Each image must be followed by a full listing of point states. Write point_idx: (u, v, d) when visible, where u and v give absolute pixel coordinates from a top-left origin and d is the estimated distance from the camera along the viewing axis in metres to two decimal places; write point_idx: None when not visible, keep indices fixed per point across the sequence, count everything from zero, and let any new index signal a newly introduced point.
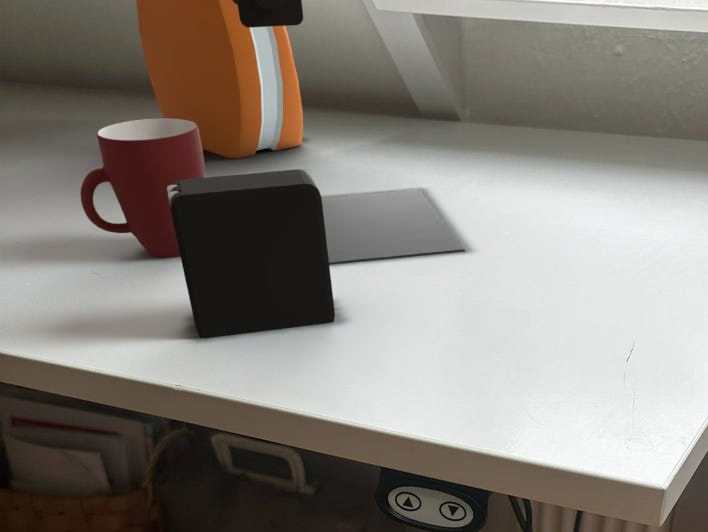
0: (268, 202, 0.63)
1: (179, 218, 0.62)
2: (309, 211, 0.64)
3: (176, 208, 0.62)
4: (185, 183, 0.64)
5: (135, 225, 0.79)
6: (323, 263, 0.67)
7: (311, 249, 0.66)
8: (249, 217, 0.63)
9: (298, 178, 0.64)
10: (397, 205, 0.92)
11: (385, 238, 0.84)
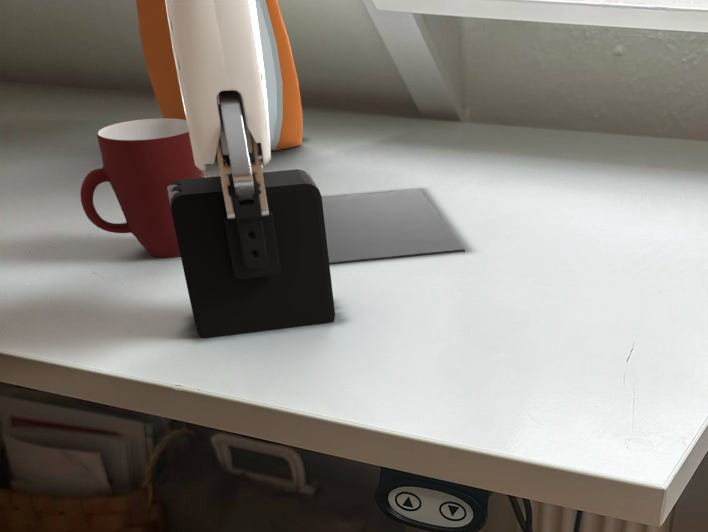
0: (268, 202, 0.63)
1: (179, 218, 0.62)
2: (309, 211, 0.64)
3: (176, 208, 0.62)
4: (185, 183, 0.64)
5: (135, 225, 0.79)
6: (323, 263, 0.67)
7: (311, 249, 0.66)
8: None
9: (298, 178, 0.64)
10: (397, 205, 0.92)
11: (385, 238, 0.84)
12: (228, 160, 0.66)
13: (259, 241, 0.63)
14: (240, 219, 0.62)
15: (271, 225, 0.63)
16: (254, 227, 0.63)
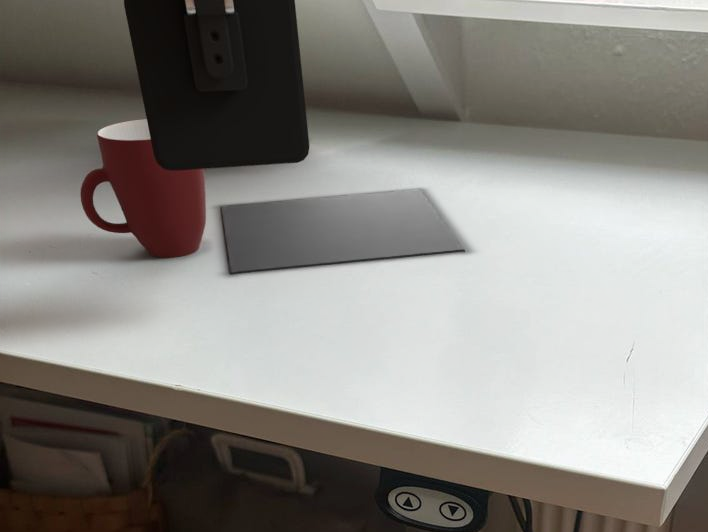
0: (234, 1, 0.56)
1: (133, 13, 0.55)
2: (281, 16, 0.58)
3: (130, 0, 0.55)
4: None
5: (135, 225, 0.79)
6: (296, 81, 0.60)
7: (283, 63, 0.59)
8: None
9: None
10: (397, 205, 0.92)
11: (385, 238, 0.84)
12: None
13: (223, 44, 0.56)
14: (201, 15, 0.55)
15: (237, 27, 0.57)
16: (217, 26, 0.56)
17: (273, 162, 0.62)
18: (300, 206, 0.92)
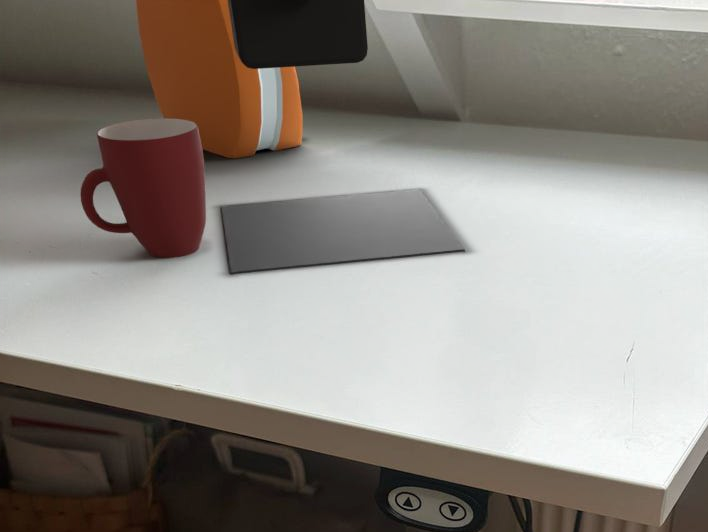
0: None
1: None
2: None
3: None
4: None
5: (135, 225, 0.79)
6: None
7: None
8: None
9: None
10: (397, 205, 0.92)
11: (385, 238, 0.84)
12: None
13: None
14: None
15: None
16: None
17: (337, 62, 0.74)
18: (300, 206, 0.92)
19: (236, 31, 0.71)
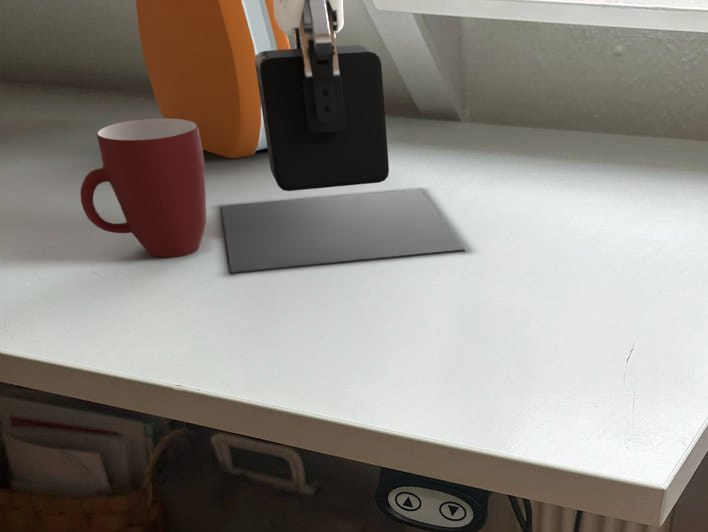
0: None
1: (267, 78, 0.76)
2: (371, 76, 0.78)
3: (265, 69, 0.76)
4: (270, 52, 0.78)
5: (135, 225, 0.79)
6: (381, 123, 0.81)
7: (371, 110, 0.80)
8: None
9: (362, 49, 0.78)
10: (397, 205, 0.92)
11: (385, 238, 0.84)
12: None
13: (330, 99, 0.77)
14: (316, 79, 0.76)
15: (340, 86, 0.78)
16: (327, 86, 0.77)
17: (362, 182, 0.83)
18: (300, 206, 0.92)
19: (274, 160, 0.80)
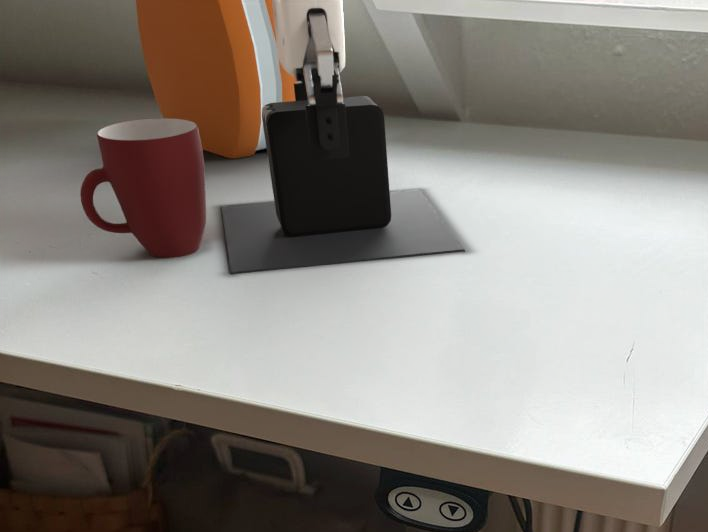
0: None
1: (273, 131, 0.79)
2: (374, 127, 0.81)
3: (271, 122, 0.78)
4: (276, 105, 0.80)
5: (135, 225, 0.79)
6: (383, 171, 0.83)
7: (374, 159, 0.82)
8: None
9: (365, 101, 0.81)
10: (397, 205, 0.92)
11: (385, 238, 0.84)
12: None
13: (334, 126, 0.77)
14: (319, 106, 0.75)
15: (343, 113, 0.77)
16: (330, 114, 0.76)
17: (365, 228, 0.86)
18: None
19: (279, 208, 0.83)
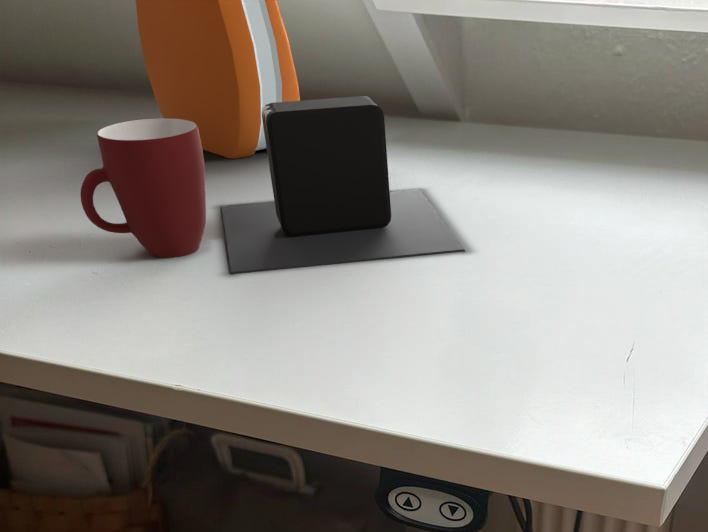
0: (342, 119, 0.80)
1: (273, 131, 0.79)
2: (374, 127, 0.81)
3: (271, 122, 0.78)
4: (276, 105, 0.80)
5: (135, 225, 0.79)
6: (383, 171, 0.83)
7: (374, 159, 0.82)
8: (327, 131, 0.80)
9: (365, 101, 0.81)
10: (397, 205, 0.92)
11: (385, 238, 0.84)
12: None
13: None
14: None
15: None
16: None
17: (365, 228, 0.86)
18: None
19: (279, 208, 0.83)
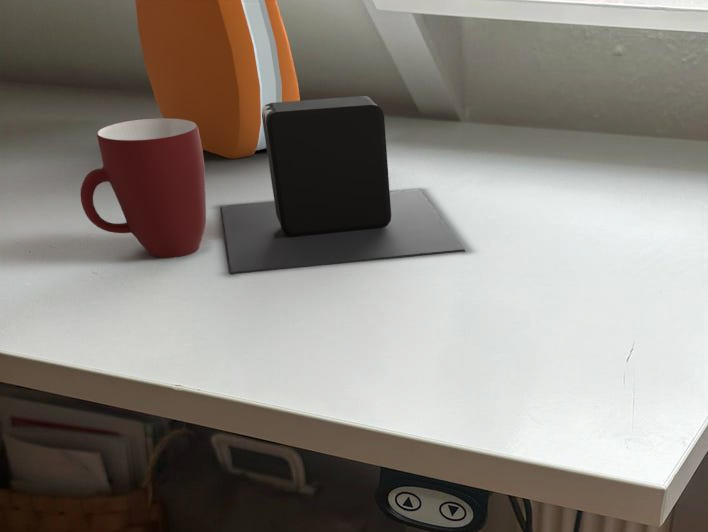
0: (342, 119, 0.80)
1: (273, 131, 0.79)
2: (374, 127, 0.81)
3: (271, 122, 0.78)
4: (276, 105, 0.80)
5: (135, 225, 0.79)
6: (383, 171, 0.83)
7: (374, 159, 0.82)
8: (327, 131, 0.80)
9: (365, 101, 0.81)
10: (397, 205, 0.92)
11: (385, 238, 0.84)
12: None
13: None
14: None
15: None
16: None
17: (365, 228, 0.86)
18: None
19: (279, 208, 0.83)
